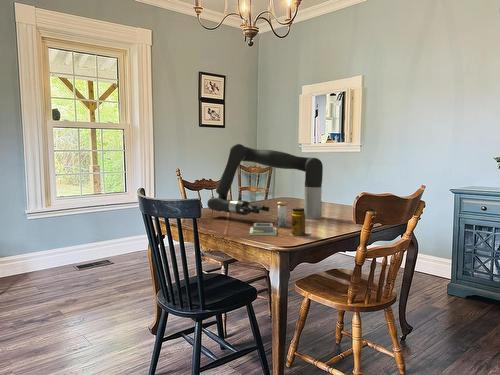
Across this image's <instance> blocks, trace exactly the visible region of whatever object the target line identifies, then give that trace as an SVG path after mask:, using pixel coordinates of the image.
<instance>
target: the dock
mask: <svg viewBox="0 0 500 375" xmlns="http://www.w3.org/2000/svg"><path fill="white" fill-rule="evenodd" d="M273 225H274V224H273V223H272V222H254V223H253V226H251V227H250V228H249V234H248V235H249V236H273V237H274V236H278V235H277V228H276V227H274V226H273Z"/></svg>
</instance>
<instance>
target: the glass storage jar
mask: <svg viewBox="0 0 500 375" xmlns="http://www.w3.org/2000/svg"><path fill="white" fill-rule="evenodd" d="M276 204H277V209H276V210H277V212H276V214H277V218H276V219H277V220H276V221H277V225H276V227H277V228H281V229H282V228H286V227H287V211H288V210H287V205H288V202H287V201H277V202H276Z"/></svg>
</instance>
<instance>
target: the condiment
mask: <svg viewBox="0 0 500 375" xmlns="http://www.w3.org/2000/svg"><path fill="white" fill-rule="evenodd" d="M291 211H292V212H291V213H292V214H291V227H290V228H291V233H290V234H288V236H291V237H292V236H293V237H298V238H299V237H300V238H303V237H306V236H309V235H310V233H308V232H306V218H305V212H304V207H293V208H292V210H291ZM291 234H292V235H291Z"/></svg>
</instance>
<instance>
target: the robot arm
mask: <svg viewBox="0 0 500 375" xmlns="http://www.w3.org/2000/svg"><path fill="white" fill-rule="evenodd" d="M241 162H250V163H256V164H259V165H263V166H266V167H271V168H275V169H282V170H283V169H284V170H298V171H302V172H304V174H305V176H304V177H305V178H304V197H303V198H304V200H303V201H304V202H303V204H304V205H303V208H304V212H305V219H310V220H311V219H312V220H315V219H316V220H317V219H322V217H323V216H322V215H323V214H322V212H323V209H322V208H323V201H322V187H323V186H322V184H323V171H324V166H323V163H322V161H321V160H320V158H317V157H303V156H297V155H294V154H292V153H291V154H290V153H287V152H284V151H278V150H273V149H272V150H271V149H256V148H251V147H248V146H244V145H243V144H241V143H235V144H233V145H232V146H231V148H230V149H229V155H228V158H227V163H226V166H225V168H224V170H223V173H222V175H221V176H220V180H219V182H218V184H217V186H216V188H215V192H216V194H217V196H218V197H210V198H209V199H208V200H207V205H206V206H207V207H208V209H209V210H211V211H215V212H220V213H221V212H223V213H230V214H234V215H240V216H246V215H249V214H258V215H259V214H260V212H270V207H269V206H265V205H263V204H250V202H249V201H247V200H242V199H241V200H240V199H228V194H229V192H230V190H231V187H232V185H233V181H234V178H235V176H236V172H237V170H238V168H239V166H240V164H241Z"/></svg>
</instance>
